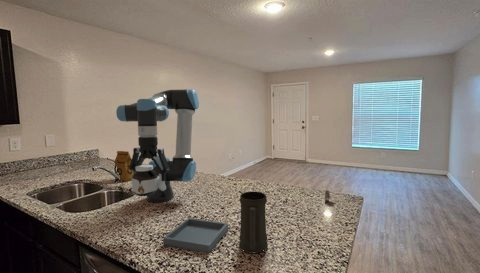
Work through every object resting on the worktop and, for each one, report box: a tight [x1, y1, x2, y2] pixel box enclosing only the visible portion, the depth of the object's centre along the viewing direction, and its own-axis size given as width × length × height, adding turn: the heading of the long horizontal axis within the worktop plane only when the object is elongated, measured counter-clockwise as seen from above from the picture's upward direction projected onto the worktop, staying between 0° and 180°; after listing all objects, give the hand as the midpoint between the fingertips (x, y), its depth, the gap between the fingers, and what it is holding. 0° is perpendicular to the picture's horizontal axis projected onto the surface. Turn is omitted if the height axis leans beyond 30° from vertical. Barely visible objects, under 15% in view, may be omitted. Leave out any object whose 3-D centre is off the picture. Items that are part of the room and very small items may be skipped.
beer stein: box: [238, 191, 269, 253], centre depth 93 cm, size 15×11×20 cm
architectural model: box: [324, 188, 333, 203], centre depth 140 cm, size 3×7×7 cm, turn 158°
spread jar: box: [131, 164, 166, 197], centre depth 108 cm, size 12×11×12 cm
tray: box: [162, 217, 229, 254], centre depth 103 cm, size 19×19×3 cm
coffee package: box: [114, 150, 134, 183], centre depth 190 cm, size 10×12×22 cm
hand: (149, 187), depth 108 cm, fingers closed on spread jar, 12 cm apart
